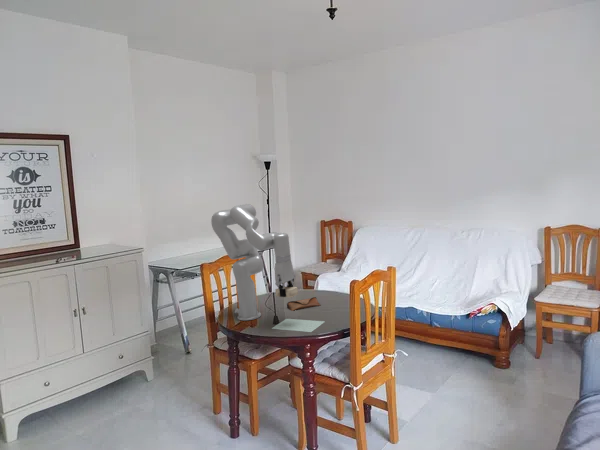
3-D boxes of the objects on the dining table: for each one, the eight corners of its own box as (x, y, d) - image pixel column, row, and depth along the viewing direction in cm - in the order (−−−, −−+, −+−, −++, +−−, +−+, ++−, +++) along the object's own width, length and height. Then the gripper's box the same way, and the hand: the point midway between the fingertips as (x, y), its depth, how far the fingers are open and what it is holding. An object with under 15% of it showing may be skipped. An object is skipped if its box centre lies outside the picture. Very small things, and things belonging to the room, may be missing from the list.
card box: (276, 296, 226) (275, 289, 225) (283, 293, 231) (282, 286, 230) (291, 297, 221) (290, 290, 220) (298, 294, 226) (297, 287, 225)
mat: (271, 329, 224) (271, 328, 224) (286, 319, 237) (286, 318, 237) (311, 332, 213) (311, 332, 213) (325, 322, 226) (325, 321, 226)
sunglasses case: (291, 311, 250) (288, 299, 252) (288, 315, 256) (285, 303, 259) (322, 305, 255) (319, 294, 258) (319, 309, 261) (315, 297, 264)
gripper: (286, 255, 233) (290, 289, 235) (266, 262, 219) (270, 299, 221) (299, 255, 229) (302, 290, 231) (279, 262, 215) (283, 300, 217)
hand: (287, 294), depth 226 cm, fingers closed on card box, 6 cm apart
